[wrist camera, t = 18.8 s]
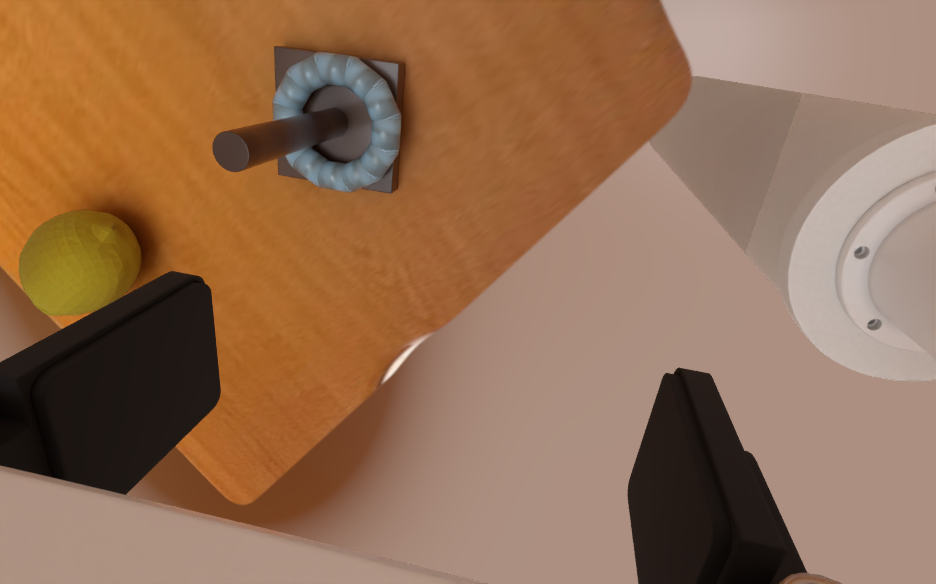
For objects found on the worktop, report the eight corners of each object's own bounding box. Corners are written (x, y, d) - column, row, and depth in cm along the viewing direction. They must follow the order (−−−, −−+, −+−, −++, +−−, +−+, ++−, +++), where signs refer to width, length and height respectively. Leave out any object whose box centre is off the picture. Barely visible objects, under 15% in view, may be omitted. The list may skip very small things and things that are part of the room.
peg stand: (405, 63, 37) (315, 66, 24) (397, 189, 41) (316, 251, 28) (284, 46, 38) (135, 41, 25) (287, 171, 42) (159, 223, 29)
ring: (408, 62, 36) (400, 62, 34) (399, 196, 40) (391, 202, 38) (279, 45, 37) (264, 44, 35) (283, 177, 41) (270, 182, 39)
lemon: (122, 179, 45) (36, 203, 38) (185, 255, 47) (114, 291, 40) (52, 241, 49) (-38, 273, 42) (113, 308, 51) (37, 350, 44)
